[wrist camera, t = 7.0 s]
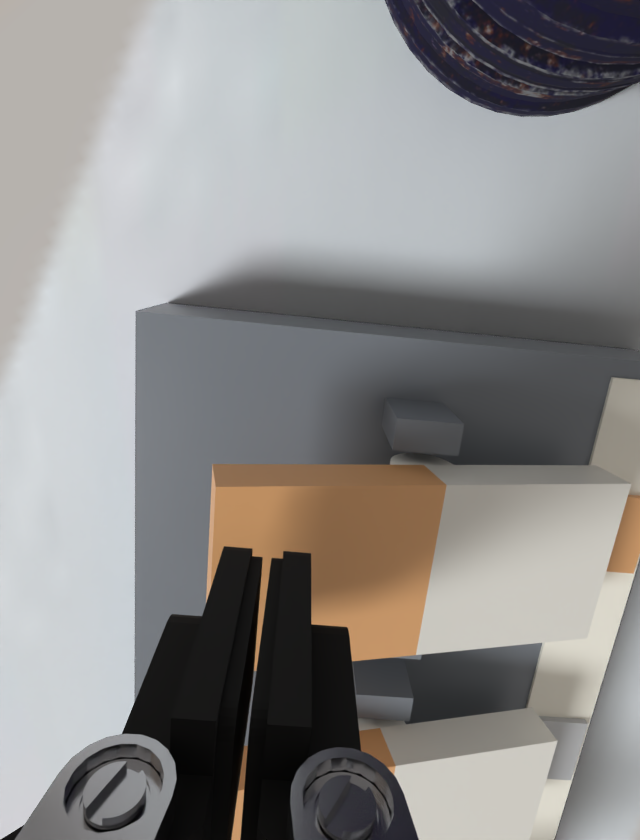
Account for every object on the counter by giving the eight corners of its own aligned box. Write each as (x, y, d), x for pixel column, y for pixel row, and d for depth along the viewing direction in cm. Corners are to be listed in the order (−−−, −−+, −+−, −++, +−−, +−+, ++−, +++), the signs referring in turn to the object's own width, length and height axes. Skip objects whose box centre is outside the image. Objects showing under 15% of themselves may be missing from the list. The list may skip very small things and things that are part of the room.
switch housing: (483, 909, 24) (526, 1067, 20) (155, 893, 24) (115, 1052, 19) (633, 349, 17) (759, 383, 12) (166, 302, 16) (106, 318, 12)
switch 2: (490, 793, 18) (524, 854, 16) (192, 847, 16) (194, 927, 14) (516, 687, 17) (557, 740, 15) (197, 726, 14) (200, 796, 13)
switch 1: (540, 593, 16) (586, 638, 14) (203, 617, 13) (206, 675, 12) (575, 454, 15) (631, 483, 13) (210, 451, 12) (215, 486, 10)
